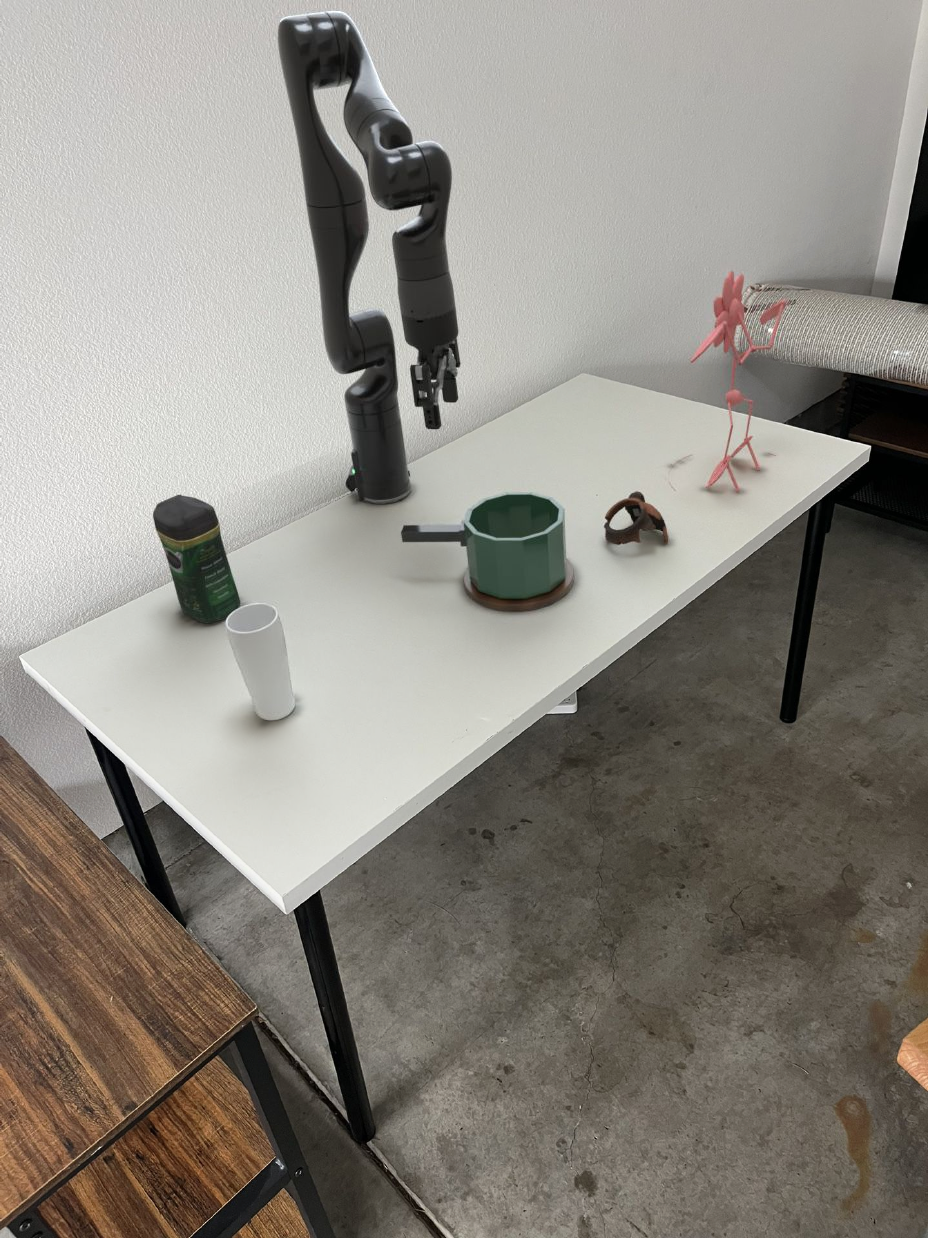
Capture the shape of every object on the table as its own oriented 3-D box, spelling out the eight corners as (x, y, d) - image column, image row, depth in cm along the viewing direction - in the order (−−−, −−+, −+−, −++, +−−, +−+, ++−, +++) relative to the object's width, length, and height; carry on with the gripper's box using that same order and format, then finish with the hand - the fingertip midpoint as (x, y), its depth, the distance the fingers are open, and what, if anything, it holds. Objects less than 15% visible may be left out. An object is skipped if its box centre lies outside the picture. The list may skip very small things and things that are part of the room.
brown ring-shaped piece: (675, 555, 150) (653, 523, 145) (621, 576, 154) (597, 545, 149) (668, 503, 158) (647, 470, 153) (616, 524, 162) (594, 493, 157)
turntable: (460, 614, 142) (460, 607, 141) (467, 554, 156) (466, 548, 155) (576, 609, 140) (575, 602, 139) (572, 549, 154) (572, 542, 153)
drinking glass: (253, 696, 130) (227, 605, 122) (302, 690, 130) (280, 599, 122) (248, 729, 125) (221, 636, 116) (300, 722, 125) (276, 629, 116)
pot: (568, 547, 151) (566, 491, 146) (562, 599, 140) (560, 540, 134) (417, 548, 156) (409, 493, 150) (399, 598, 144) (390, 541, 138)
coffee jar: (250, 607, 149) (222, 501, 138) (207, 631, 144) (174, 523, 134) (216, 587, 155) (186, 484, 144) (174, 609, 150) (140, 505, 140)
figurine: (781, 451, 175) (802, 254, 155) (723, 513, 159) (739, 301, 139) (703, 437, 183) (713, 247, 163) (640, 494, 167) (643, 291, 147)
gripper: (418, 287, 136) (433, 392, 146) (384, 325, 126) (402, 436, 135) (468, 286, 134) (480, 393, 144) (438, 325, 123) (453, 438, 133)
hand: (442, 414), depth 140 cm, fingers open, 8 cm apart
